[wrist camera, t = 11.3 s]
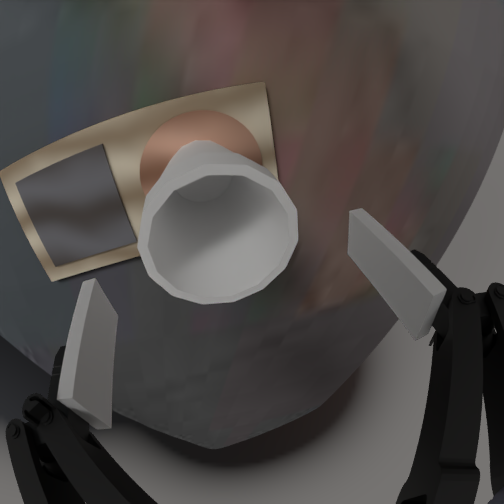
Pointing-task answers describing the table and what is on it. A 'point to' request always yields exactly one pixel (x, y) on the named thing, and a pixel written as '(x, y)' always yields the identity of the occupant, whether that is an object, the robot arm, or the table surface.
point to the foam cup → (216, 226)
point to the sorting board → (124, 173)
